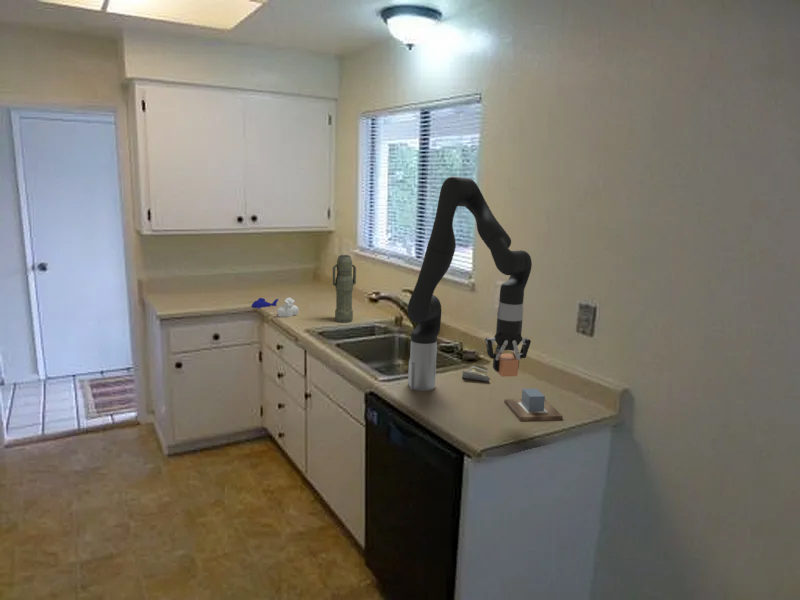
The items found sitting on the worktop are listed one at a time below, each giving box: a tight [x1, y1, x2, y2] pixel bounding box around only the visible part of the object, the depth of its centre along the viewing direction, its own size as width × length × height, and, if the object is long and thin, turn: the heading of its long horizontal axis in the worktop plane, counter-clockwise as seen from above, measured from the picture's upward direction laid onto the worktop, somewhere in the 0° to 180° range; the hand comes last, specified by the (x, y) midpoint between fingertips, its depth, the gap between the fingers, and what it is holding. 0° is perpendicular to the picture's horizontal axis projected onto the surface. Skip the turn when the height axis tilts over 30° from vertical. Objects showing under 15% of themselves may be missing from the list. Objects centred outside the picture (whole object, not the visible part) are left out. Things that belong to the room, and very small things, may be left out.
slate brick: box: [521, 388, 546, 412], centre depth 186 cm, size 5×7×5 cm
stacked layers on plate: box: [461, 363, 490, 383], centre depth 217 cm, size 10×9×6 cm
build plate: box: [504, 398, 564, 422], centre depth 187 cm, size 14×15×1 cm
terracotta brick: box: [496, 352, 520, 378], centre depth 176 cm, size 5×7×5 cm
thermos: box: [332, 254, 357, 324], centre depth 292 cm, size 9×12×35 cm
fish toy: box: [251, 297, 279, 309], centre depth 321 cm, size 15×8×7 cm, turn 115°
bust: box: [277, 297, 300, 318], centre depth 303 cm, size 12×8×11 cm, turn 125°
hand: (505, 370), depth 176 cm, fingers closed on terracotta brick, 5 cm apart
